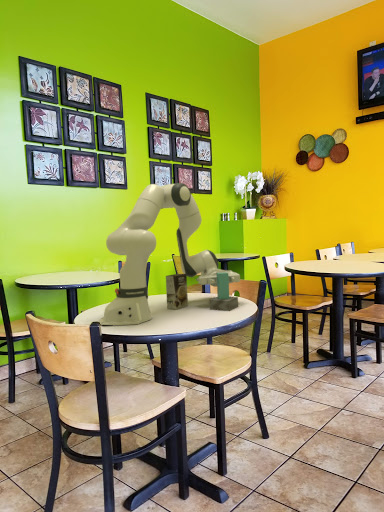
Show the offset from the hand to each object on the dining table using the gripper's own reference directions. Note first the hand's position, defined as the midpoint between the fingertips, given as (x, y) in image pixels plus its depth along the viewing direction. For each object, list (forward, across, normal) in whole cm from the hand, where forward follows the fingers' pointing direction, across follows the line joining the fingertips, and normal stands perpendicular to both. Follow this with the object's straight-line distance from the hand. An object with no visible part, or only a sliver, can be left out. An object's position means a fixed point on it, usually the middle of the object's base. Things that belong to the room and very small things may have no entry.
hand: (223, 281), depth 185 cm
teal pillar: (-1, 0, +8) cm, 8 cm away
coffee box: (-13, -20, +13) cm, 27 cm away
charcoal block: (-1, 0, +13) cm, 13 cm away
